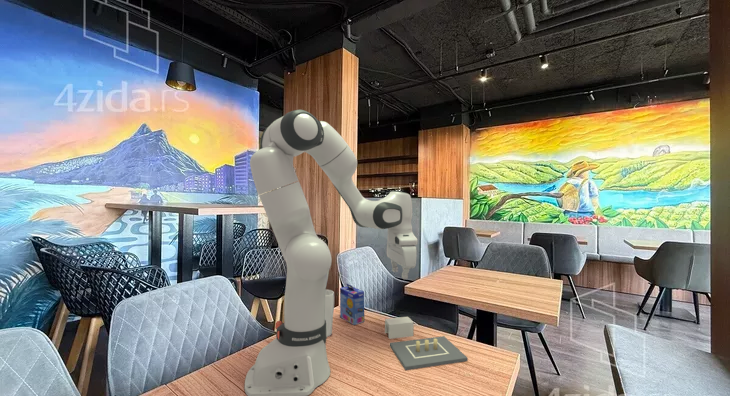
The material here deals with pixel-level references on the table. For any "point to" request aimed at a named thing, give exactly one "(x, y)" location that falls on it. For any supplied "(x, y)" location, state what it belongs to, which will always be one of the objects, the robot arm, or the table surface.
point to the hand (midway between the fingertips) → (399, 275)
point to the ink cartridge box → (352, 304)
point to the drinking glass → (329, 310)
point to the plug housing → (399, 327)
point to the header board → (427, 352)
